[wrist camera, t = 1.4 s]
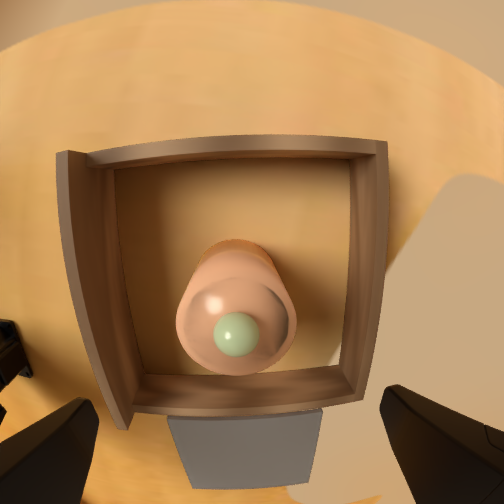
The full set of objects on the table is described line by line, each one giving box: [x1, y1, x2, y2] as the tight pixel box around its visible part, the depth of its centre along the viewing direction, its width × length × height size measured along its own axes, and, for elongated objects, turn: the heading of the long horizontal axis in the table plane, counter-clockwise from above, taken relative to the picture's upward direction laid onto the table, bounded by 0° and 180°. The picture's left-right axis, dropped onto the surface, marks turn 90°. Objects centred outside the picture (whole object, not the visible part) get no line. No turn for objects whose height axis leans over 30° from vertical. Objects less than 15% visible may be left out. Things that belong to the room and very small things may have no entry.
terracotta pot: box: [176, 239, 297, 376], centre depth 15 cm, size 6×6×9 cm
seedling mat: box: [167, 408, 323, 489], centre depth 24 cm, size 14×14×1 cm
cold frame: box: [56, 135, 389, 430], centre depth 16 cm, size 18×18×6 cm
